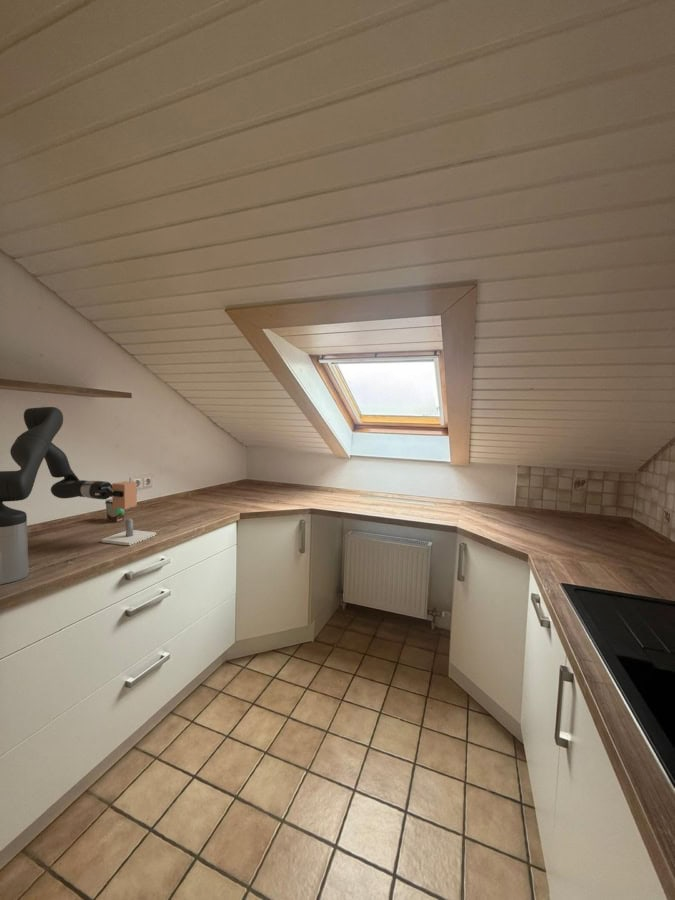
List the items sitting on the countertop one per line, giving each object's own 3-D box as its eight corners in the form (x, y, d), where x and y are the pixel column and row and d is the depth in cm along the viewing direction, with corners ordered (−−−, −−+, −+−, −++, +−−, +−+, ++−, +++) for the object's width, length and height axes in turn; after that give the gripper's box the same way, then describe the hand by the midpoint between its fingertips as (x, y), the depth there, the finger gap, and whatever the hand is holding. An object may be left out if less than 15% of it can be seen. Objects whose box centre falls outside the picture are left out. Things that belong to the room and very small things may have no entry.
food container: (131, 520, 171) (131, 500, 170) (118, 523, 165) (118, 503, 165) (118, 516, 177) (118, 497, 176) (105, 519, 172) (105, 499, 171)
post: (129, 545, 136) (129, 524, 135) (101, 542, 139) (100, 521, 138) (156, 535, 149) (155, 516, 149) (129, 532, 152) (129, 513, 152)
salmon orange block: (124, 509, 138) (124, 484, 137) (112, 507, 139) (112, 483, 139) (136, 505, 144) (136, 482, 143) (124, 504, 145) (124, 481, 144)
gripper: (80, 483, 137) (114, 486, 133) (111, 478, 151) (143, 481, 147) (80, 502, 138) (114, 505, 134) (111, 495, 152) (143, 498, 148)
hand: (129, 492), depth 141 cm, fingers closed on salmon orange block, 6 cm apart
